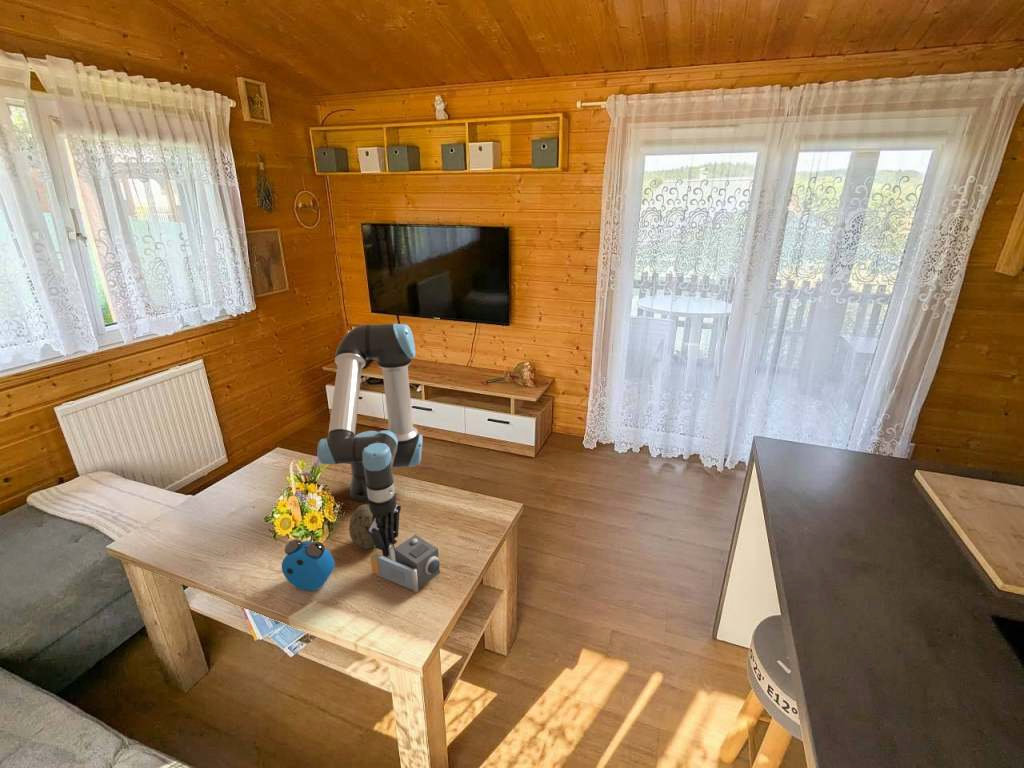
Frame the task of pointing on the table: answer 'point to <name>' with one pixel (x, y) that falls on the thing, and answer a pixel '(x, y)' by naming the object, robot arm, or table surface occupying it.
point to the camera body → (419, 558)
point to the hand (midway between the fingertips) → (389, 561)
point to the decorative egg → (361, 527)
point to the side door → (395, 572)
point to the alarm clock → (307, 564)
